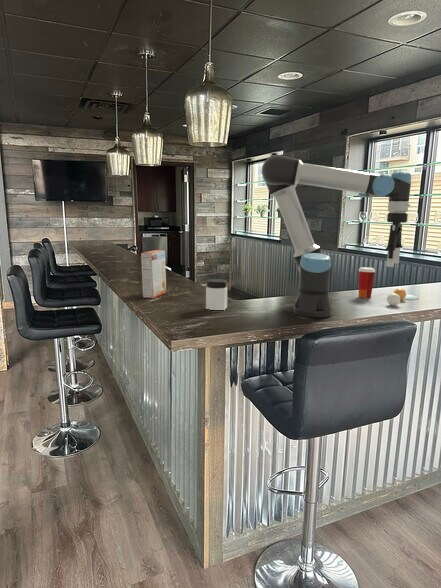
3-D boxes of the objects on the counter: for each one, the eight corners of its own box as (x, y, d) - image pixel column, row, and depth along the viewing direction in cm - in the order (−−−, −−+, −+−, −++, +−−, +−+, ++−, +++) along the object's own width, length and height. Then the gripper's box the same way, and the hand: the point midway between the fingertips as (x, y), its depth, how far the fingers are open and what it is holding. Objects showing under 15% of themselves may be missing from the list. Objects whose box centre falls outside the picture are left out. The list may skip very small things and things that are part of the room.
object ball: (391, 300, 192) (392, 288, 191) (394, 298, 196) (395, 286, 195) (404, 301, 189) (405, 290, 188) (406, 299, 193) (407, 288, 192)
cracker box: (155, 292, 203) (154, 249, 199) (166, 293, 201) (166, 250, 197) (141, 297, 190) (140, 252, 186) (153, 298, 188) (152, 252, 184)
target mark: (384, 297, 198) (384, 297, 198) (390, 292, 209) (390, 292, 209) (416, 301, 190) (416, 300, 190) (420, 296, 202) (420, 295, 202)
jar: (224, 306, 176) (224, 278, 173) (229, 310, 168) (230, 281, 165) (203, 307, 173) (204, 279, 171) (208, 311, 166) (208, 282, 163)
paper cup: (370, 295, 201) (373, 267, 199) (375, 299, 194) (377, 269, 191) (354, 295, 202) (356, 266, 199) (357, 298, 195) (360, 269, 192)
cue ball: (385, 305, 180) (386, 293, 179) (387, 303, 185) (388, 291, 184) (398, 307, 177) (399, 295, 176) (400, 305, 182) (402, 293, 181)
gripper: (403, 212, 154) (398, 269, 158) (411, 212, 175) (406, 262, 179) (382, 212, 157) (377, 267, 162) (392, 212, 179) (388, 261, 183)
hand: (392, 265), depth 170 cm, fingers open, 13 cm apart
